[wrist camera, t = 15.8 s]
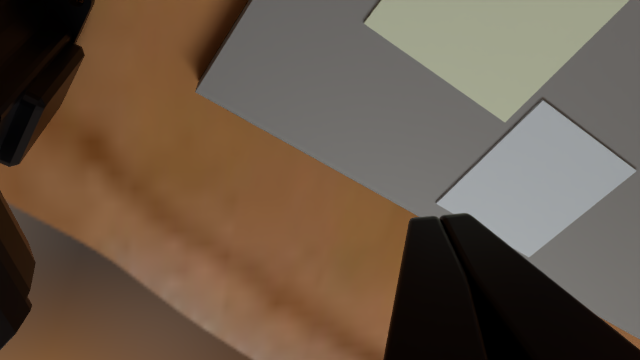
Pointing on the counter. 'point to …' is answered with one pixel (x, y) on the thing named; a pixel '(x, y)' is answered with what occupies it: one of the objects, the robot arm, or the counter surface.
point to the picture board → (465, 118)
